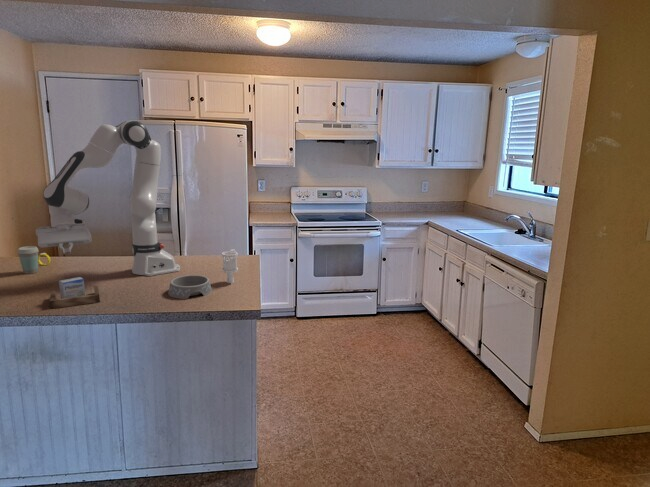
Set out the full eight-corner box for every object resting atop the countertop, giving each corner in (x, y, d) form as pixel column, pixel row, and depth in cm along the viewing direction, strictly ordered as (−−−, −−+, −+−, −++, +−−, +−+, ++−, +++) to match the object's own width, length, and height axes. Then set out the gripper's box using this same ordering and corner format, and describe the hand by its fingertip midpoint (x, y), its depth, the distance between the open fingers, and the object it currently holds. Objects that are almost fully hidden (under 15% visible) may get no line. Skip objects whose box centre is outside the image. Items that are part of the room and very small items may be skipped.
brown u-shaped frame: (98, 292, 189) (98, 285, 189) (99, 302, 179) (99, 295, 178) (52, 298, 181) (51, 291, 181) (50, 308, 171) (49, 301, 170)
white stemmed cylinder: (241, 281, 209) (240, 250, 205) (232, 285, 203) (231, 253, 199) (228, 278, 212) (228, 248, 208) (219, 282, 205) (218, 251, 202)
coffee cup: (45, 270, 217) (42, 246, 214) (29, 275, 209) (25, 250, 206) (32, 268, 219) (29, 245, 216) (15, 273, 211) (12, 249, 209)
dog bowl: (217, 294, 191) (217, 282, 190) (173, 302, 182) (173, 289, 181) (205, 283, 205) (204, 272, 204) (163, 289, 196) (163, 277, 195)
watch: (37, 265, 225) (35, 254, 224) (41, 264, 228) (38, 253, 227) (48, 265, 225) (46, 254, 224) (52, 263, 228) (50, 252, 226)
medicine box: (64, 303, 176) (62, 282, 174) (60, 300, 179) (58, 280, 177) (85, 298, 182) (83, 278, 180) (81, 296, 185) (79, 276, 183)
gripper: (34, 223, 188) (38, 252, 183) (88, 219, 199) (93, 246, 194) (35, 231, 193) (39, 259, 188) (88, 227, 204) (93, 253, 199)
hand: (67, 253), depth 191 cm, fingers closed
